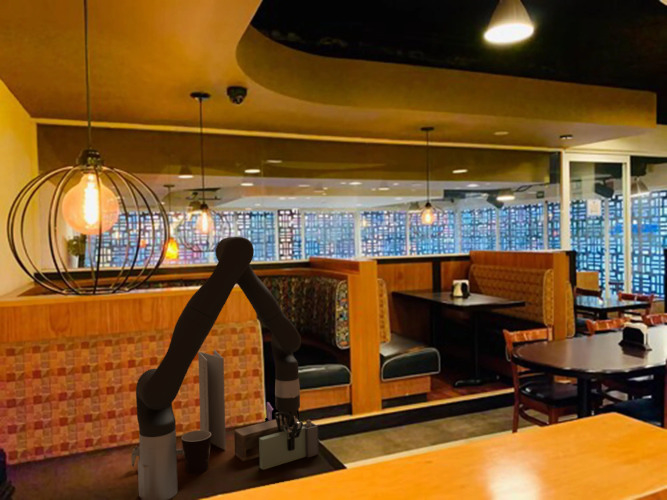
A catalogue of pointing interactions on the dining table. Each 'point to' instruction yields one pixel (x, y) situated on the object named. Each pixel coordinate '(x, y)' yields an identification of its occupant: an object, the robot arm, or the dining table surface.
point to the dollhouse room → (271, 413)
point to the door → (277, 451)
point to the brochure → (212, 397)
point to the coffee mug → (196, 451)
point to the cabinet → (254, 438)
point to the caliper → (137, 453)
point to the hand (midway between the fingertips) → (289, 448)
